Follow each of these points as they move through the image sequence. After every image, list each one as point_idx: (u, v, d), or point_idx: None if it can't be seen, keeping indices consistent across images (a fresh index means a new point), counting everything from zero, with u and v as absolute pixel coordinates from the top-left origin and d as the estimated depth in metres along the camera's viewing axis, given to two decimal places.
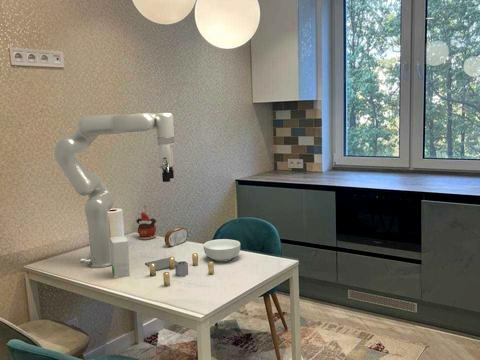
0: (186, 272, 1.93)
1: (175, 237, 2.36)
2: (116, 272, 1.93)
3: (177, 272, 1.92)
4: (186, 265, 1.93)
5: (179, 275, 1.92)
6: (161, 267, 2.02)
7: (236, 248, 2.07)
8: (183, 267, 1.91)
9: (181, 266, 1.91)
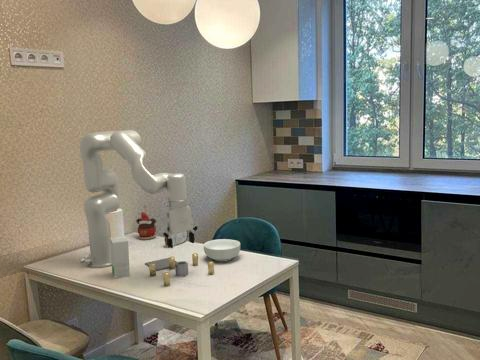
0: (186, 272, 1.93)
1: (175, 237, 2.36)
2: (116, 272, 1.93)
3: (177, 272, 1.92)
4: (186, 265, 1.93)
5: (179, 275, 1.92)
6: (161, 267, 2.02)
7: (236, 248, 2.07)
8: (183, 267, 1.91)
9: (181, 266, 1.91)
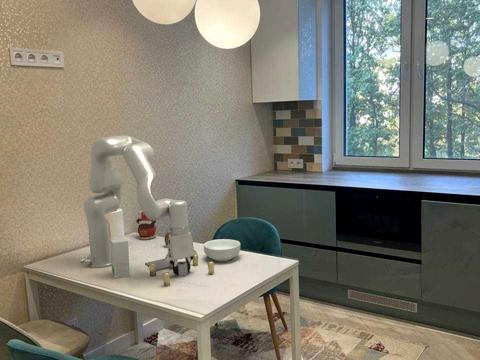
0: (186, 272, 1.93)
1: None
2: (116, 272, 1.93)
3: None
4: (186, 265, 1.93)
5: (179, 275, 1.92)
6: (161, 267, 2.02)
7: (236, 248, 2.07)
8: (183, 267, 1.91)
9: (181, 266, 1.91)
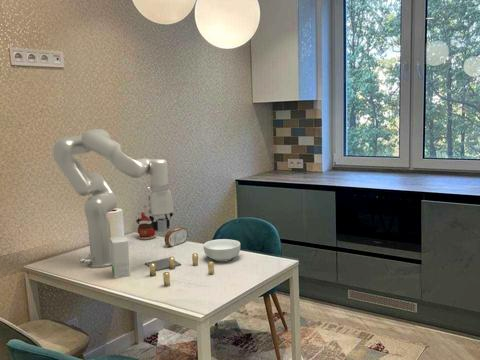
0: (165, 228, 2.03)
1: (175, 237, 2.36)
2: (116, 272, 1.93)
3: None
4: (165, 221, 2.02)
5: (158, 230, 2.01)
6: (161, 267, 2.02)
7: (236, 248, 2.07)
8: (162, 223, 2.01)
9: (160, 222, 2.01)
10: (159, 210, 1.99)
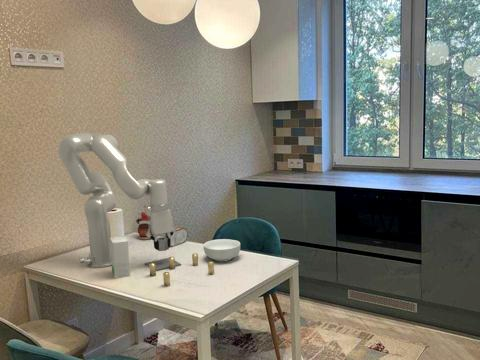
0: (166, 247, 2.05)
1: (175, 237, 2.36)
2: (116, 272, 1.93)
3: None
4: (166, 240, 2.05)
5: (160, 249, 2.04)
6: (161, 267, 2.02)
7: (236, 248, 2.07)
8: (163, 242, 2.04)
9: (161, 241, 2.04)
10: (160, 230, 2.02)
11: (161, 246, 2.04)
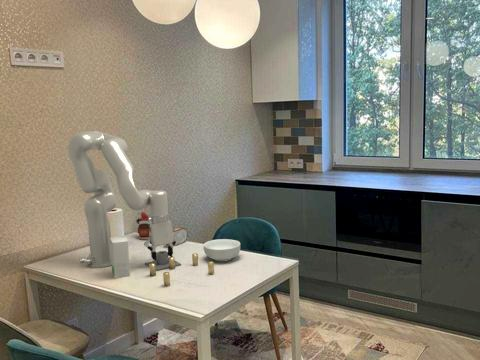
0: (166, 261, 2.06)
1: None
2: (116, 272, 1.93)
3: (158, 261, 2.06)
4: (166, 254, 2.06)
5: (160, 264, 2.05)
6: (161, 267, 2.02)
7: (236, 248, 2.07)
8: (163, 256, 2.05)
9: (161, 255, 2.05)
10: (160, 241, 2.03)
11: (161, 260, 2.05)
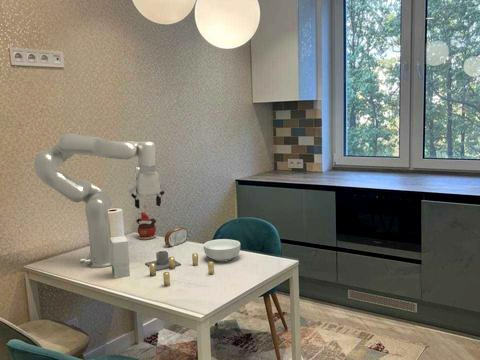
0: (166, 261, 2.06)
1: (175, 237, 2.36)
2: (116, 272, 1.93)
3: (158, 261, 2.06)
4: (166, 254, 2.06)
5: (160, 264, 2.05)
6: (161, 267, 2.02)
7: (236, 248, 2.07)
8: (163, 256, 2.05)
9: (161, 255, 2.05)
10: (146, 190, 2.07)
11: (161, 260, 2.05)
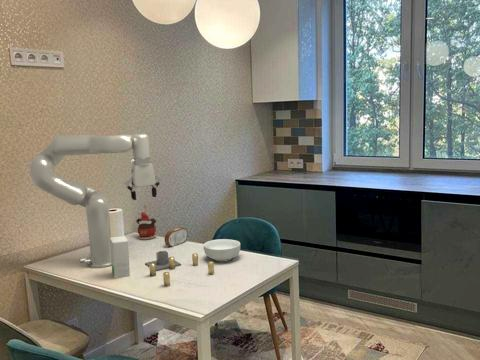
0: (166, 261, 2.06)
1: (175, 237, 2.36)
2: (116, 272, 1.93)
3: (158, 261, 2.06)
4: (166, 254, 2.06)
5: (160, 264, 2.05)
6: (161, 267, 2.02)
7: (236, 248, 2.07)
8: (163, 256, 2.05)
9: (161, 255, 2.05)
10: (142, 182, 2.10)
11: (161, 260, 2.05)
